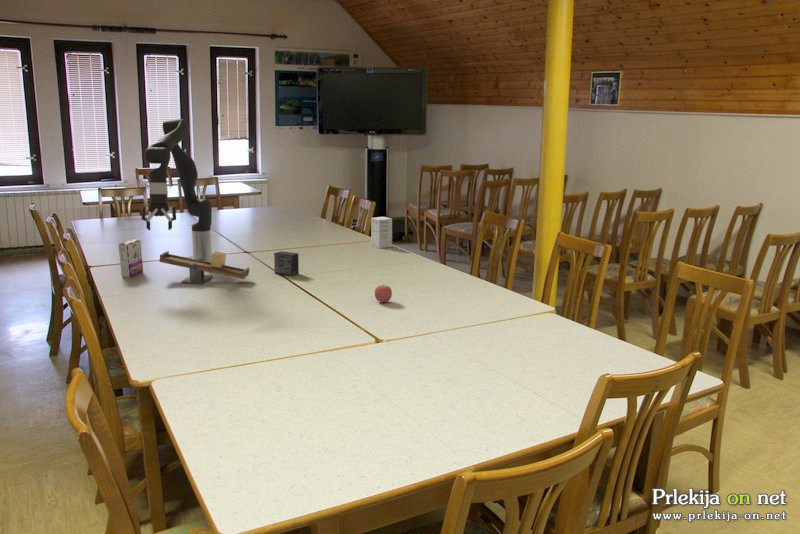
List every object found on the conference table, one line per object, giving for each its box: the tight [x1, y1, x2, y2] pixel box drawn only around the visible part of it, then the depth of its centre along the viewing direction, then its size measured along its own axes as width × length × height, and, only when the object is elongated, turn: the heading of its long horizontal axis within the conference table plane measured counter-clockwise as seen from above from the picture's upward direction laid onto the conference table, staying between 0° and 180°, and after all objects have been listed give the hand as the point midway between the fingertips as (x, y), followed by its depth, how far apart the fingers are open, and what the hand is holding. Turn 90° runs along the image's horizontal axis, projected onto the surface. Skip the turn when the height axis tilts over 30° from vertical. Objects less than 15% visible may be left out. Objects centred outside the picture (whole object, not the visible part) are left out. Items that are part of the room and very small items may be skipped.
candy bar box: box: [118, 238, 144, 278], centre depth 324 cm, size 11×5×16 cm, turn 168°
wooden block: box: [211, 251, 227, 269], centre depth 316 cm, size 5×5×7 cm
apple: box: [374, 283, 393, 303], centre depth 290 cm, size 7×7×8 cm
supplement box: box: [370, 216, 393, 249], centre depth 399 cm, size 10×9×17 cm
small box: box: [273, 250, 300, 277], centre depth 333 cm, size 11×6×10 cm, turn 65°
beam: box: [159, 250, 250, 280], centre depth 317 cm, size 8×40×4 cm, turn 85°
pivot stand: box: [180, 259, 214, 286], centre depth 318 cm, size 14×10×9 cm
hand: (159, 230), depth 301 cm, fingers open, 8 cm apart
